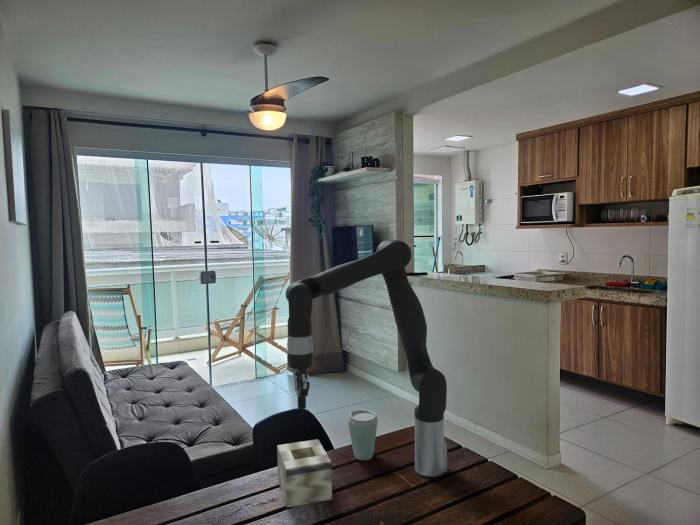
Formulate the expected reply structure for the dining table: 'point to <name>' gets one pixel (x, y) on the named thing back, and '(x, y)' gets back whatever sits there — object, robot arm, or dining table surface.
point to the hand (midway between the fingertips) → (301, 408)
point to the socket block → (304, 473)
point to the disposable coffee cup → (362, 432)
